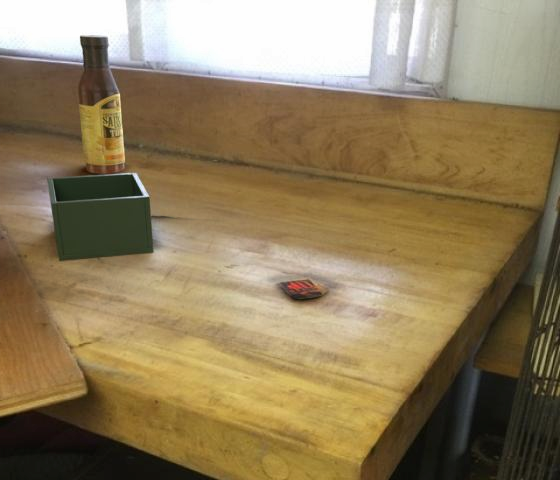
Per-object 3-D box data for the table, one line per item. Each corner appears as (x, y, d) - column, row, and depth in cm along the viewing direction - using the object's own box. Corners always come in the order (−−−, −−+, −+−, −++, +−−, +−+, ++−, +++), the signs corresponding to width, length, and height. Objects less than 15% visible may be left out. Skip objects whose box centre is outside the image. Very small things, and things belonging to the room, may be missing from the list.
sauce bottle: (113, 179, 108) (100, 38, 98) (78, 175, 110) (61, 36, 100) (133, 169, 114) (122, 35, 104) (99, 166, 115) (85, 32, 105)
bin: (59, 260, 79) (50, 203, 76) (54, 230, 88) (47, 177, 84) (153, 252, 82) (149, 196, 79) (140, 223, 91) (136, 172, 87)
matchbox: (299, 303, 70) (299, 299, 70) (270, 286, 74) (270, 282, 73) (335, 293, 73) (335, 289, 72) (305, 277, 76) (305, 273, 76)
